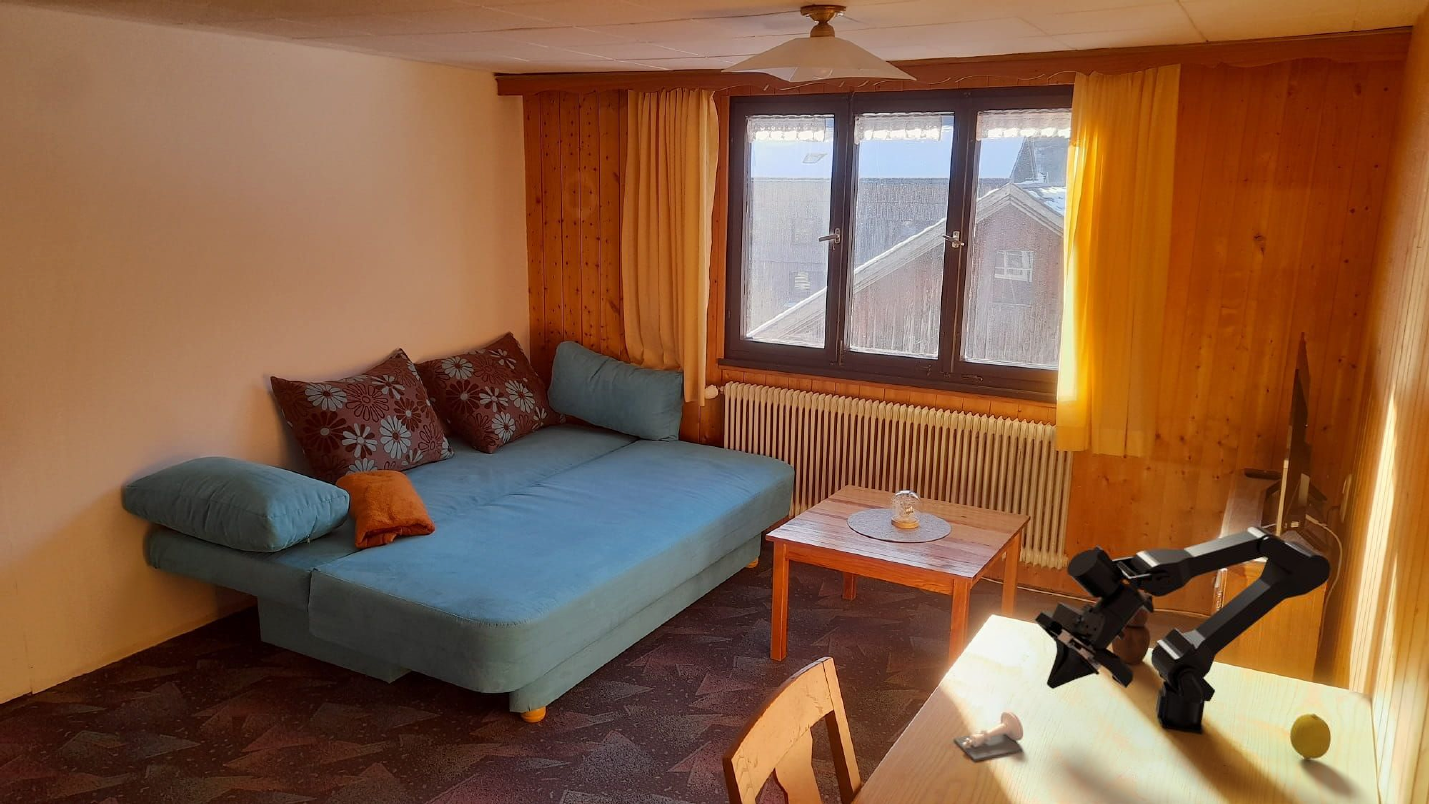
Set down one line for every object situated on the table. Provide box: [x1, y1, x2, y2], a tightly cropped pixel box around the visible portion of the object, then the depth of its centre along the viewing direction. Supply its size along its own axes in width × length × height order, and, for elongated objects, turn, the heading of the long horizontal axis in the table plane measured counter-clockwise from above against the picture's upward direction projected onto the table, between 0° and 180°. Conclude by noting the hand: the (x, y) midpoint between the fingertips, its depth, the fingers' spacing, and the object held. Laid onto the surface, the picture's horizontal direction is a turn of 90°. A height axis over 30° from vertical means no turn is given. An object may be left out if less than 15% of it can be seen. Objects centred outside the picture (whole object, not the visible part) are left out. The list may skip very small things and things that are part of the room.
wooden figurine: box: [1111, 590, 1151, 665], centre depth 192 cm, size 7×6×15 cm
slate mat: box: [953, 732, 1023, 762], centre depth 164 cm, size 9×6×1 cm, turn 109°
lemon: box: [1289, 713, 1332, 761], centre depth 161 cm, size 6×6×8 cm
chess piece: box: [962, 709, 1024, 748], centre depth 164 cm, size 5×5×10 cm
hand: (1049, 686), depth 165 cm, fingers closed
